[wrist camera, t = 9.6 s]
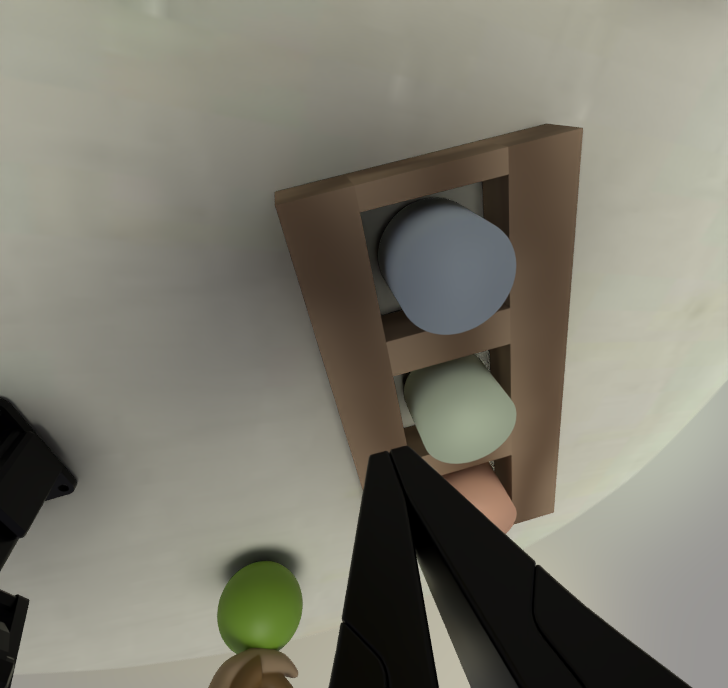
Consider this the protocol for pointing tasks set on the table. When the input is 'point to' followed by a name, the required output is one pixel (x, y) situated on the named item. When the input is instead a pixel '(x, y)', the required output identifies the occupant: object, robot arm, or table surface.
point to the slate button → (446, 265)
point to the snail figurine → (258, 626)
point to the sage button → (459, 409)
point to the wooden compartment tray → (423, 349)
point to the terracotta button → (485, 493)
